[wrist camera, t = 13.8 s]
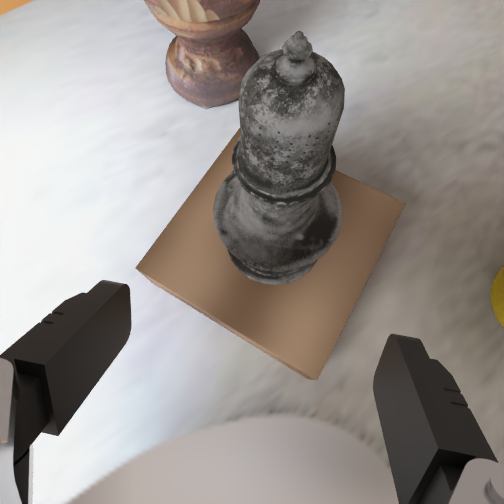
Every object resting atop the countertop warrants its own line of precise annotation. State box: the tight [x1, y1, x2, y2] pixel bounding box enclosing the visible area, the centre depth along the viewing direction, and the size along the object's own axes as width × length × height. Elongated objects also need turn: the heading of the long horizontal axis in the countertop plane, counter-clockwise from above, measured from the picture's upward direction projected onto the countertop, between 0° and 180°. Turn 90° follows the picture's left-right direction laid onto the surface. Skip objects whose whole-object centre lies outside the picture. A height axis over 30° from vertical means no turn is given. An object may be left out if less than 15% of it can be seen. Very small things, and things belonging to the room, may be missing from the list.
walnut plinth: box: [136, 128, 405, 380], centre depth 20 cm, size 11×11×3 cm
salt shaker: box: [213, 31, 345, 285], centre depth 13 cm, size 6×6×12 cm
